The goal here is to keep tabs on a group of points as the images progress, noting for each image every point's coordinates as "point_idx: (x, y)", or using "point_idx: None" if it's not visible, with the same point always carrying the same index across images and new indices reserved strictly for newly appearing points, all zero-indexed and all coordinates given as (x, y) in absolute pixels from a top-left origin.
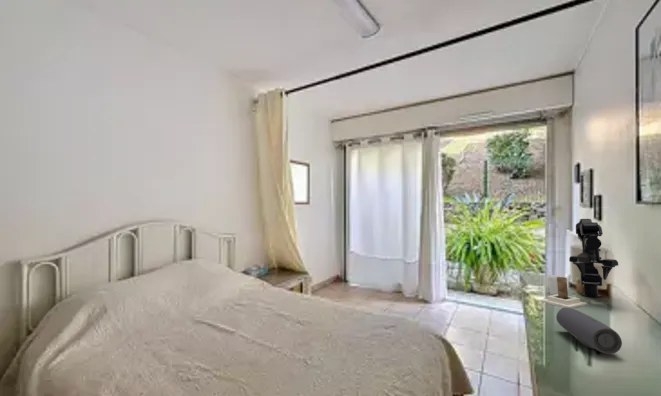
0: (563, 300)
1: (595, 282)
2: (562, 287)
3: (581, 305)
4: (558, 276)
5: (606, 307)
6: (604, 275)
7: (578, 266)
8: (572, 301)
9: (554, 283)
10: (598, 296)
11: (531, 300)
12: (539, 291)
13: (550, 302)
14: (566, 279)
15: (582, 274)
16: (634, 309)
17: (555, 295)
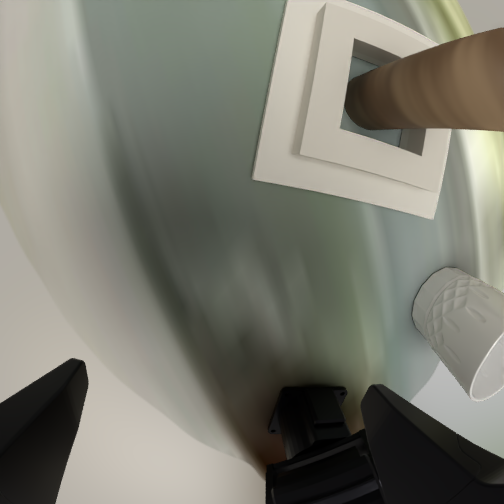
0: (352, 13)
1: (293, 469)
2: (433, 47)
3: (265, 103)
4: (487, 394)
5: (149, 215)
6: (28, 391)
7: (496, 467)
8: (314, 57)
9: (494, 297)
10: (273, 413)
11: None
12: None
13: (406, 28)
14: (479, 70)
15: (391, 399)
16: (58, 297)
17: None
